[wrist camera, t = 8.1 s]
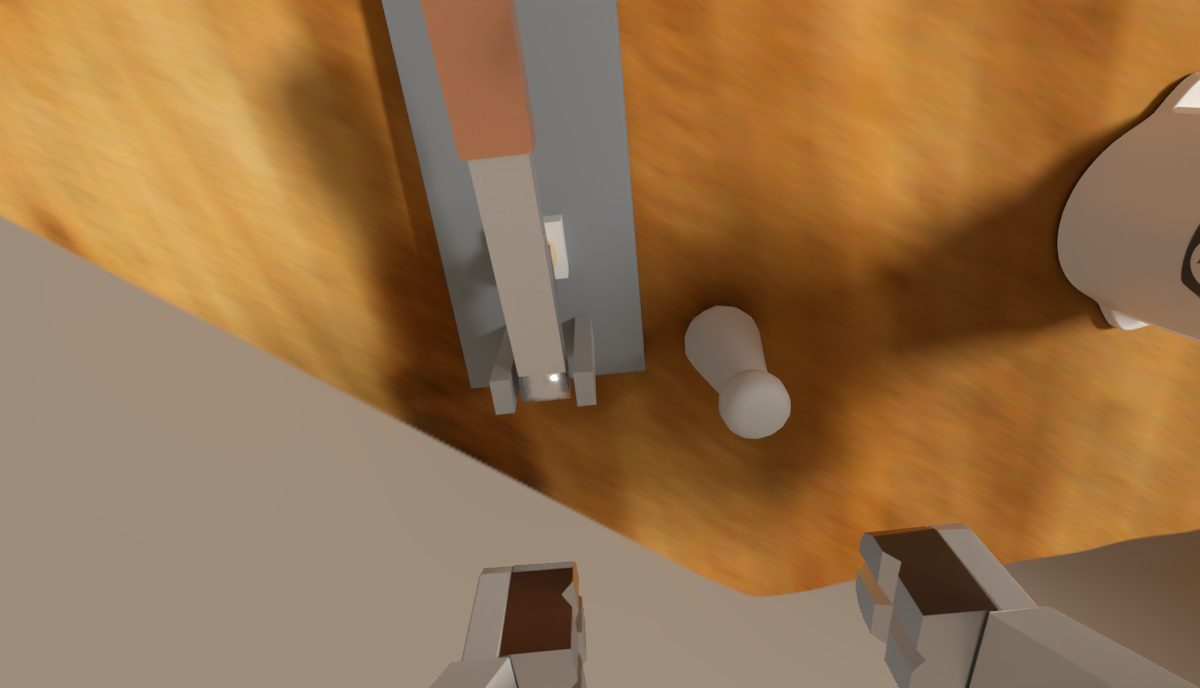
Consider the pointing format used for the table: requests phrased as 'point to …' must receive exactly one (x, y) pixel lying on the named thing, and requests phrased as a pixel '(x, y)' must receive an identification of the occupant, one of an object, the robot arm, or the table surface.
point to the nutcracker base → (566, 186)
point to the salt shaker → (737, 371)
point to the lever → (503, 176)
